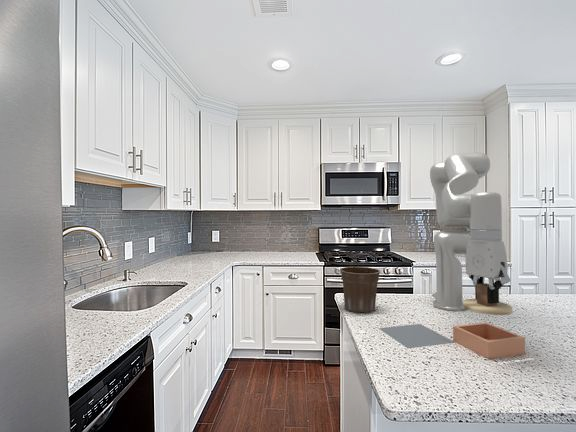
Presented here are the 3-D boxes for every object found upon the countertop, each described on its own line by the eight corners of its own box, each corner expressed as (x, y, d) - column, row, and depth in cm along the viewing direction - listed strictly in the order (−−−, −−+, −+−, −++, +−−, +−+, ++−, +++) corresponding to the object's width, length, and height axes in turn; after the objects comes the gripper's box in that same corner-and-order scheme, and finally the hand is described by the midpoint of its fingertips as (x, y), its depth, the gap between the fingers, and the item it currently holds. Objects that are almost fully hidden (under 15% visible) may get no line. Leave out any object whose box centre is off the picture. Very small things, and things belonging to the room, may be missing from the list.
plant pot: (387, 308, 125) (387, 269, 125) (369, 318, 113) (369, 274, 113) (352, 301, 136) (352, 265, 136) (332, 309, 124) (332, 270, 124)
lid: (453, 304, 90) (453, 281, 90) (485, 301, 93) (485, 279, 93) (487, 316, 79) (487, 290, 79) (523, 313, 81) (522, 287, 81)
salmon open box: (453, 342, 90) (453, 326, 90) (486, 338, 93) (486, 322, 93) (488, 361, 79) (488, 342, 79) (525, 356, 81) (524, 337, 81)
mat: (378, 330, 101) (378, 328, 101) (420, 325, 105) (420, 323, 105) (407, 350, 86) (407, 348, 86) (455, 344, 89) (455, 342, 89)
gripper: (452, 235, 93) (453, 295, 93) (501, 238, 77) (503, 310, 77) (472, 234, 95) (473, 293, 95) (525, 237, 79) (526, 308, 78)
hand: (486, 300), depth 86 cm, fingers closed on lid, 3 cm apart
